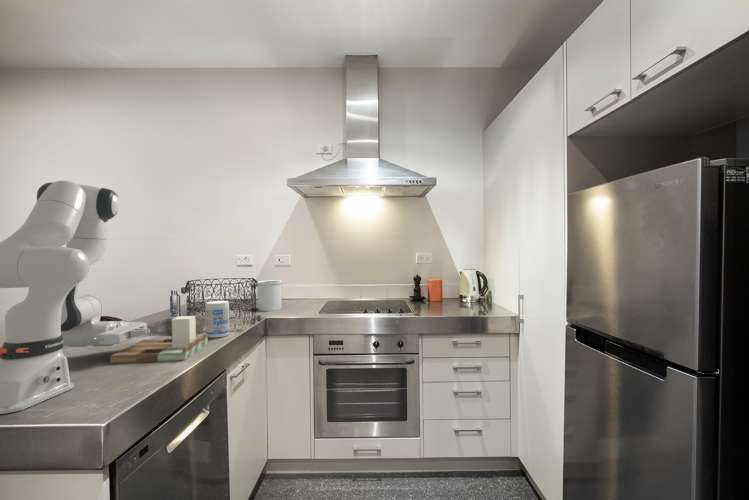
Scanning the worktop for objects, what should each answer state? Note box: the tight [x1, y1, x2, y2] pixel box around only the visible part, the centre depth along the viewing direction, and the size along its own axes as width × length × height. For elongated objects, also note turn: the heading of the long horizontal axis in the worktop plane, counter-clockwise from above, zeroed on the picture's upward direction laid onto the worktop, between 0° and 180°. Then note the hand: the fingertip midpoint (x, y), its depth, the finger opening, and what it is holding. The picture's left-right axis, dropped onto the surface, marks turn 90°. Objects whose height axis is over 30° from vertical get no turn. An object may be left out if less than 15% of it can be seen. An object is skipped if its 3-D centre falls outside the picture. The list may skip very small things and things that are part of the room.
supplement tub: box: [204, 300, 230, 339], centre depth 161 cm, size 10×10×15 cm
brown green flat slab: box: [109, 332, 209, 364], centre depth 136 cm, size 22×24×4 cm
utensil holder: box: [256, 279, 283, 312], centre depth 229 cm, size 15×15×18 cm
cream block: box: [171, 315, 197, 347], centre depth 137 cm, size 6×6×10 cm
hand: (147, 332), depth 135 cm, fingers closed
